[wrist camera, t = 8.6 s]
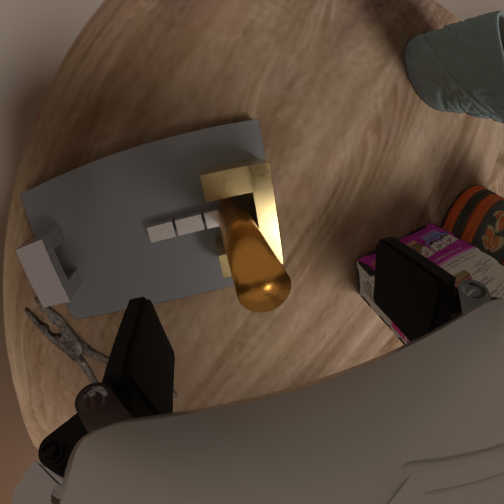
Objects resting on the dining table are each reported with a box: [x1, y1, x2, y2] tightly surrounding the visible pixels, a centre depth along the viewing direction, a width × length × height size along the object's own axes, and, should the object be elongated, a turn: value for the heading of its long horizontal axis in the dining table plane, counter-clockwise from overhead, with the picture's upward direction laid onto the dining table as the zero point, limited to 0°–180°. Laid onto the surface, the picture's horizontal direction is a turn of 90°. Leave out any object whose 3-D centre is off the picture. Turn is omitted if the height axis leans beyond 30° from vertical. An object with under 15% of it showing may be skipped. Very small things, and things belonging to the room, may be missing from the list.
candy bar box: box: [356, 223, 504, 345], centre depth 19 cm, size 11×5×16 cm, turn 109°
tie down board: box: [21, 119, 265, 320], centre depth 19 cm, size 19×12×2 cm, turn 99°
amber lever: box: [147, 198, 291, 312], centre depth 14 cm, size 7×2×10 cm, turn 99°
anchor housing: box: [16, 225, 83, 308], centre depth 16 cm, size 3×5×3 cm, turn 9°
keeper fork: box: [199, 158, 283, 278], centre depth 18 cm, size 4×7×3 cm, turn 9°
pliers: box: [25, 297, 177, 397], centre depth 24 cm, size 10×1×20 cm
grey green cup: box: [405, 11, 504, 123], centre depth 12 cm, size 10×10×12 cm
